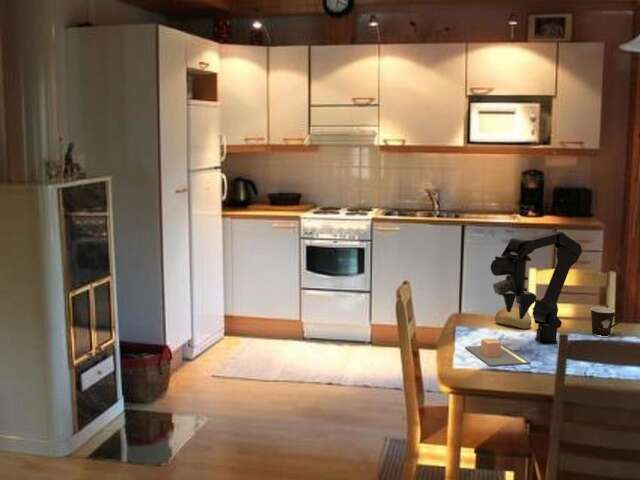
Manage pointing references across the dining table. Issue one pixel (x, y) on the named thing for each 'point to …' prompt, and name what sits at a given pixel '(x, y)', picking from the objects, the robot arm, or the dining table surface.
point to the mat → (505, 357)
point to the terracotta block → (490, 347)
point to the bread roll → (513, 318)
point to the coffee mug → (603, 320)
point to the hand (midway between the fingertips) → (514, 315)
